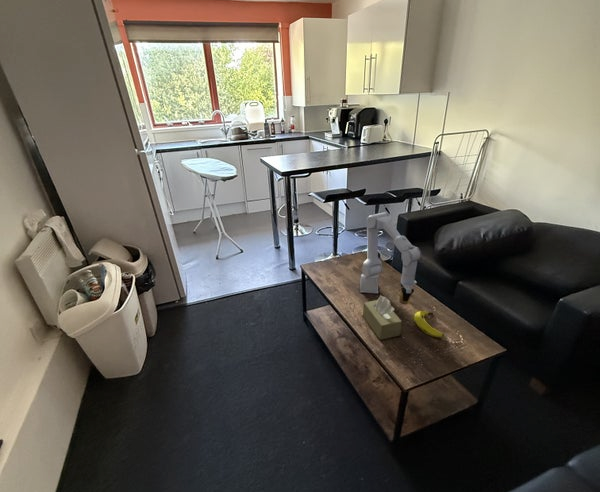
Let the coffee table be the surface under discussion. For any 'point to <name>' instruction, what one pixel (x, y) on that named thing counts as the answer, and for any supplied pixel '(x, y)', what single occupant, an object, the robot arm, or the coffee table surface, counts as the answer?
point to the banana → (426, 324)
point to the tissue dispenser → (382, 318)
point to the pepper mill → (402, 298)
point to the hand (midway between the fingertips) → (404, 297)
